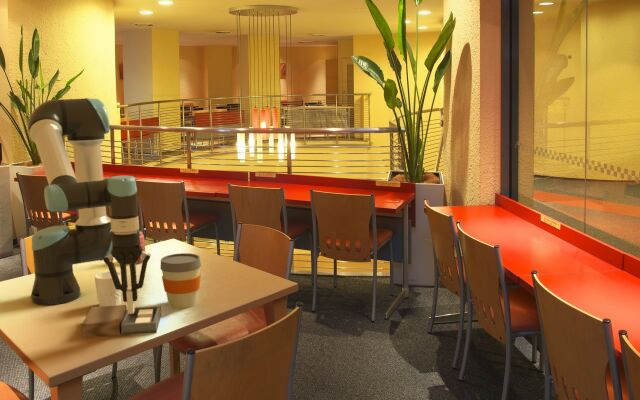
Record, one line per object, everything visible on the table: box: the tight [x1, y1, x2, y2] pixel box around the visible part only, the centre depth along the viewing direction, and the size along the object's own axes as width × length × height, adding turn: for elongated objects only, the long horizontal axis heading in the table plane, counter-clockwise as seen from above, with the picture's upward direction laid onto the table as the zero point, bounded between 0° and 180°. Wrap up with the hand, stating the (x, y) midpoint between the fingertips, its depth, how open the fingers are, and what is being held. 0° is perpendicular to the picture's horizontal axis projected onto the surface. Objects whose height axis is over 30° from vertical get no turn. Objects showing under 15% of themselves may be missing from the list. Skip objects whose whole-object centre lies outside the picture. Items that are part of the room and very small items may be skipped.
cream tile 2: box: [135, 317, 151, 323], centre depth 189 cm, size 4×4×2 cm
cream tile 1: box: [138, 309, 154, 320], centre depth 196 cm, size 4×4×2 cm
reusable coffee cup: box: [160, 252, 202, 310], centre depth 209 cm, size 13×13×15 cm
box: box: [121, 305, 162, 336], centre depth 193 cm, size 10×14×3 cm
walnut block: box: [81, 304, 128, 339], centre depth 191 cm, size 10×14×4 cm
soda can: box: [136, 230, 146, 265], centre depth 258 cm, size 7×7×12 cm
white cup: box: [94, 271, 122, 307], centre depth 209 cm, size 8×8×10 cm
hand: (131, 311), depth 188 cm, fingers closed
